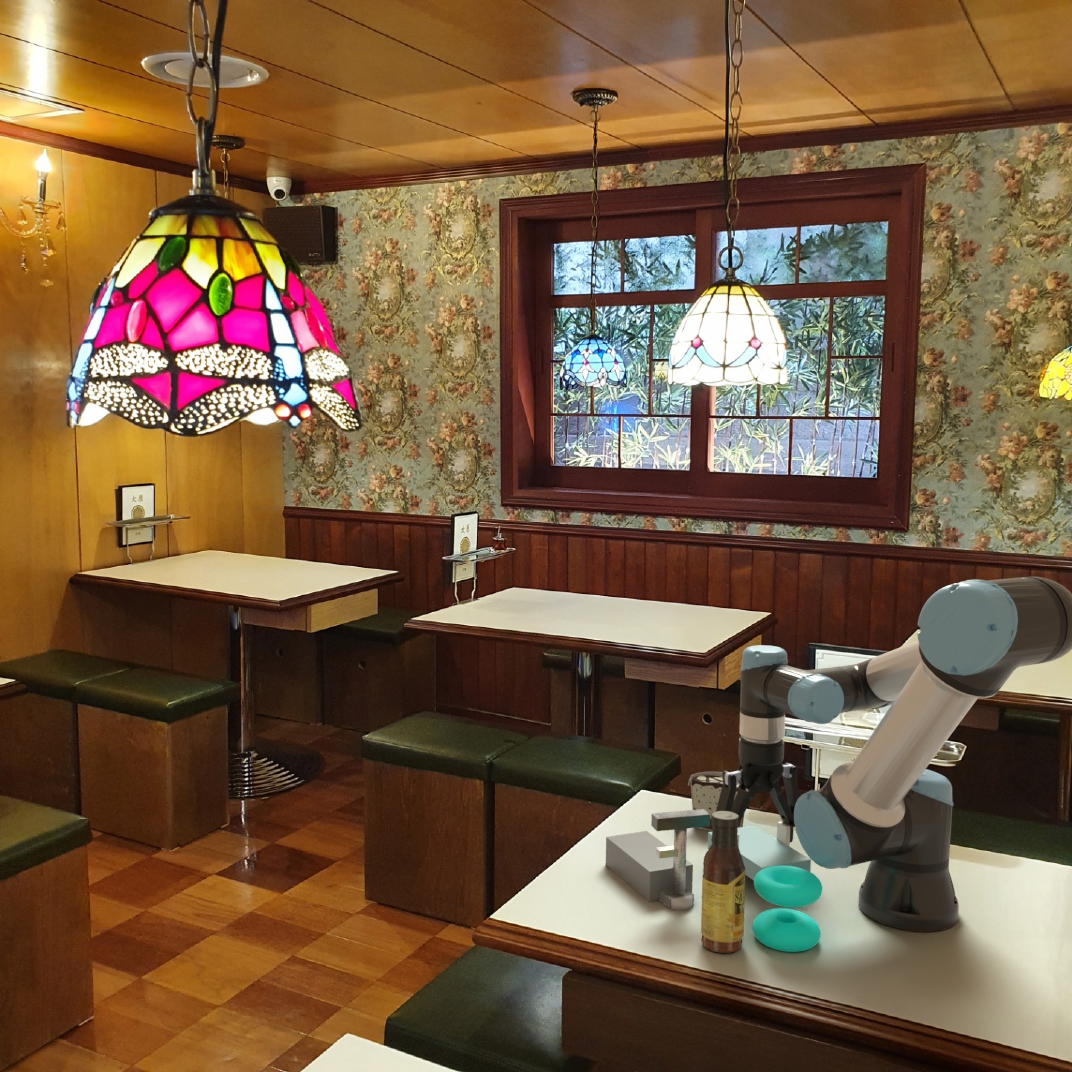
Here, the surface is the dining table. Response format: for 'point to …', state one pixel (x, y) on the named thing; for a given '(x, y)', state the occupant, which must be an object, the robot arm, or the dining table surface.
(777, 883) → the donuts
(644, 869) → the case
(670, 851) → the key
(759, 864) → the cover
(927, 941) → the dining table surface
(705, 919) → the sauce bottle
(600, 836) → the dining table surface
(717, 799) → the food container
